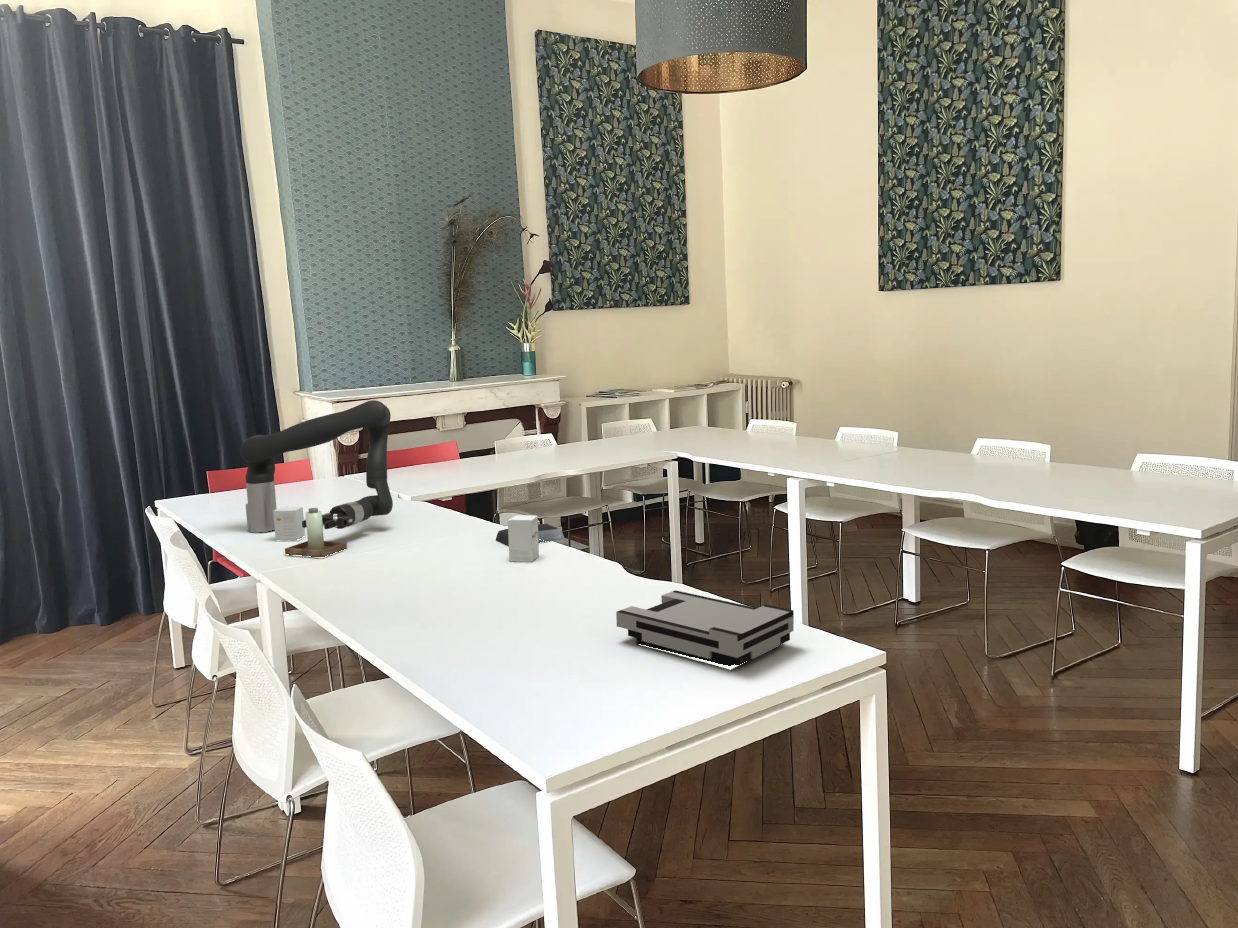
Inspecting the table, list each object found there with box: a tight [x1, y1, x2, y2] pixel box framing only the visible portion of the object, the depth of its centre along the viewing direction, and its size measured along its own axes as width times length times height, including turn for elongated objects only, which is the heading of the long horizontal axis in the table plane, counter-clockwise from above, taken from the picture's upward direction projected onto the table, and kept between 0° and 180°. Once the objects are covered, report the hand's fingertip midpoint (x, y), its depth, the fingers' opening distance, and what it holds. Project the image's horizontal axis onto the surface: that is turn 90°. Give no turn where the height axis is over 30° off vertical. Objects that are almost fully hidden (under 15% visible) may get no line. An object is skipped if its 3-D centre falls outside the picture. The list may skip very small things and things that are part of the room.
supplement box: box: [507, 514, 540, 563], centre depth 282 cm, size 7×7×13 cm
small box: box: [273, 506, 306, 541], centre depth 316 cm, size 8×6×10 cm
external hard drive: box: [495, 523, 565, 548], centre depth 308 cm, size 13×19×4 cm
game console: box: [615, 590, 795, 666], centre depth 205 cm, size 21×32×8 cm, turn 48°
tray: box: [284, 540, 348, 557], centre depth 297 cm, size 14×12×2 cm
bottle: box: [304, 507, 325, 551], centre depth 296 cm, size 5×5×13 cm
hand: (314, 525), depth 296 cm, fingers open, 8 cm apart
